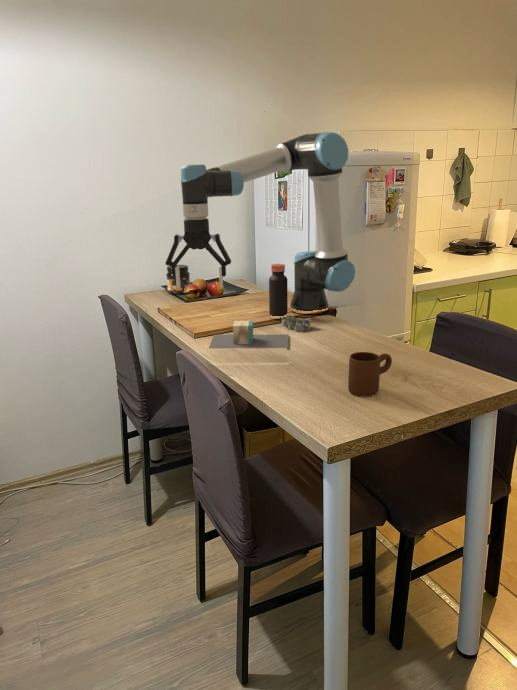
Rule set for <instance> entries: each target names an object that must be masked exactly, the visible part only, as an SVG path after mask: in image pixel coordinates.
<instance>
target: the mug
mask: <svg viewBox="0 0 517 690" xmlns="http://www.w3.org/2000/svg"><path fill="white" fill-rule="evenodd" d="M348 360H349V361H348V382H347V384H348V385H347V386H348V388H347V389H348V391H349V393H350V394H351V395H353V396H355V395H357V396H356V397H359V396H371V397H373V396H372V395H374V396H375V394H376V395H377V394H378V393H379V391H380V377H381V375H383V374H384V373H386V372H387V371H389V370H390V368H391V367H392V361H393V360H392V356H391V355H390V354H388V353H381V354H380V355H378V354H376V353H373V352H368V351H360V352H353V353H352V354H350V355H349V359H348ZM383 361H385V362H384V364H383V365H382V366H381V363H382V362H383Z"/></svg>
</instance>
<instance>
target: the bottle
mask: <svg viewBox="0 0 517 690" xmlns="http://www.w3.org/2000/svg"><path fill="white" fill-rule="evenodd" d="M285 266H286V264H283V263H272V264H271V269H270V270H271V275H270V277H269V278H268V305H269V307H268V309H269V310H268V311H269V314H270V315H272V316H284V315H286V314H287V313H288V314H289V312H288V307H289V306H288V277H287V276H286V275H285V272H286V267H285Z"/></svg>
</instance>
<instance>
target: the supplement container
mask: <svg viewBox="0 0 517 690" xmlns="http://www.w3.org/2000/svg"><path fill="white" fill-rule="evenodd" d="M176 266H179V272H180V288H177V287H176V277H173V276H172V267H171V266H169V265H167V266H166V271H167V272H166V287H167V292H168V294H170V295H173V294H172V293H173V292H177V293H183V291H184V288H185V286H186V285H188V284H190V285H191V279H190V277H191V275H190V272H189V266H188V265H186V264H177V265H176Z"/></svg>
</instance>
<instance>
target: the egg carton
mask: <svg viewBox="0 0 517 690" xmlns="http://www.w3.org/2000/svg"><path fill="white" fill-rule="evenodd" d="M280 318H281V317H280ZM281 319H282V320H281V326H282V327H286V328H287V329H288V330H290V331H291V330H294V332H296V333H298V332H304V331H309V330H311V322H312V321H313V318H311V317H306V318H304V317H303V318H301V317H300V318H299V317H297V318H296V317H295V316H291V317H290V315H289V316H288V317H283V318H281Z"/></svg>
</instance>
